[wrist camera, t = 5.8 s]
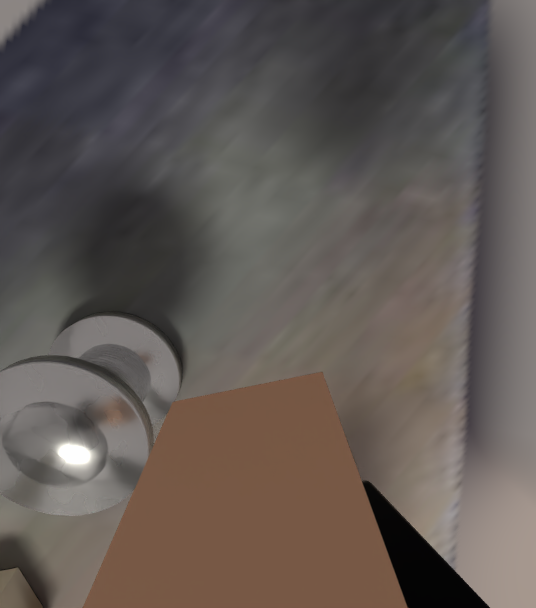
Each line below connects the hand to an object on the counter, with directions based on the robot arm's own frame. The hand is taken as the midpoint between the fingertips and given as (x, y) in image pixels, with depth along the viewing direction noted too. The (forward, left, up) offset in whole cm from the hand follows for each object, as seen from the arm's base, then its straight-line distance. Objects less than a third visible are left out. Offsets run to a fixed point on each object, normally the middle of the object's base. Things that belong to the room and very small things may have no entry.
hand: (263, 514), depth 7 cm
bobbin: (-1, +8, -11) cm, 14 cm away
